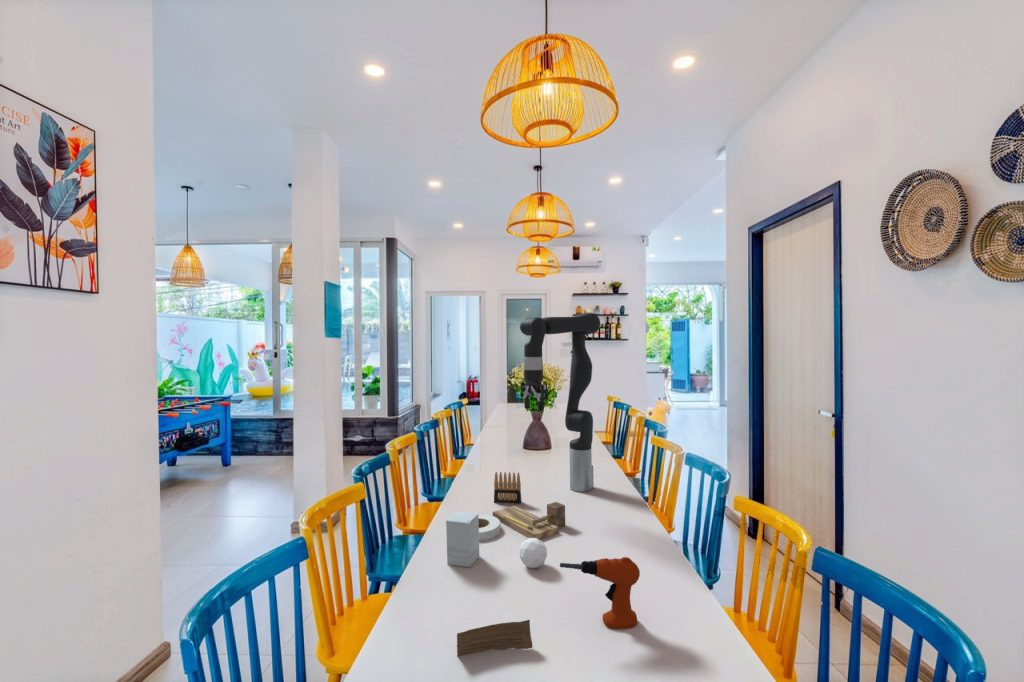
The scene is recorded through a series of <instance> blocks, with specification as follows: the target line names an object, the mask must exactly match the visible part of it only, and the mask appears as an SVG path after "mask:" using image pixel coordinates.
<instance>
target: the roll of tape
mask: <svg viewBox="0 0 1024 682" xmlns="http://www.w3.org/2000/svg"><path fill="white" fill-rule="evenodd" d="M477 514H478V518H479V526H481V527H479V541H485V540H490V539H492V538H495V537H496V536H498V534H500V532H501V522H500V521H499V519H498V518H496V517H494V516H493V515H490V514H480V513H477Z"/></svg>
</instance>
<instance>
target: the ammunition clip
mask: <svg viewBox="0 0 1024 682" xmlns="http://www.w3.org/2000/svg"><path fill="white" fill-rule="evenodd" d="M507 476H508V477H507ZM521 483H522V482H521V474H520V473H519V472H517V474H516V473H515V472H512V475H511V471H509V472H508V475H507V472H506V471H504V474H503V473H502V472H501V471H500V472H499V475H498V472H497V471H495V473H494V482H493V485H494V486H493V487H494V489H493V490H494V491H493V504H519V505H521V503H522V491H521V490H522V487H521V486H522V485H521Z"/></svg>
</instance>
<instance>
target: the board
mask: <svg viewBox="0 0 1024 682" xmlns="http://www.w3.org/2000/svg"><path fill="white" fill-rule="evenodd" d="M505 515H507V516H509V517H511V518H513V519H516V520H518V521H520V522H522V523H525V524H527V525H529V526H531V527H533V530H529V529H527V528H525V527H523V526H520V525H518V524H516V523H514V522H512V521H509V520H507V519H505V518H504V516H505ZM492 516H494V517H496V518H498V519H499V521H500V524H504V525H505V526H506V527H509V528H510V529H512V530H514V531H516V532H518V533H519V534H522V535H523V536H524V537H526V538H527V539H529V538H537V539H539V540H542V539H544V538H548V537H551V536H554V535H556V534H559V528H558V527H557V526H555V525H553V524H551V523H549V522H547V520H546V521H543V522H540V523H537V524H535V526H534V524H532V520H534V519H537V518H540V517H539V516H537V515H535V514H533V513H531V512H529V511H528V510H525V509H523V508H521V507H519V506H516V505H512V506H508V507H506V508H502V509H498V510H494V511H492Z"/></svg>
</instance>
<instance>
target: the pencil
mask: <svg viewBox="0 0 1024 682" xmlns="http://www.w3.org/2000/svg"><path fill="white" fill-rule="evenodd" d="M504 518H505V519H507V520H509V521H512V522H514V523H516V524H518V525H520V526H523V527H525V528H527V529H529V530H533V527H531V526H529V525H527V524H525V523H522V522H520V521H518V520H516V519H513V518H511V517H509V516H507V515H505V516H504Z"/></svg>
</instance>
